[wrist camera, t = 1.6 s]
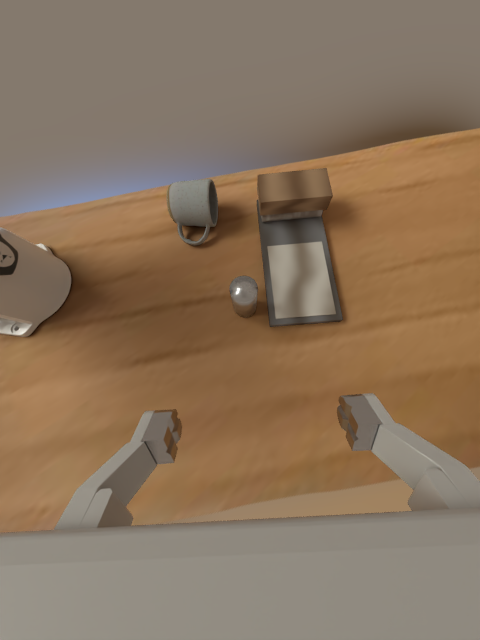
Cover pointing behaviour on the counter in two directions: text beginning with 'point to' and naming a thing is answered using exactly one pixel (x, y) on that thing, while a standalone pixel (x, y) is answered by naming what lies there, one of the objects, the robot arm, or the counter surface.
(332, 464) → the counter surface
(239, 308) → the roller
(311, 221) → the grey board with block
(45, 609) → the robot arm
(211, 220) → the ceramic mug
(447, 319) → the counter surface
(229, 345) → the counter surface
